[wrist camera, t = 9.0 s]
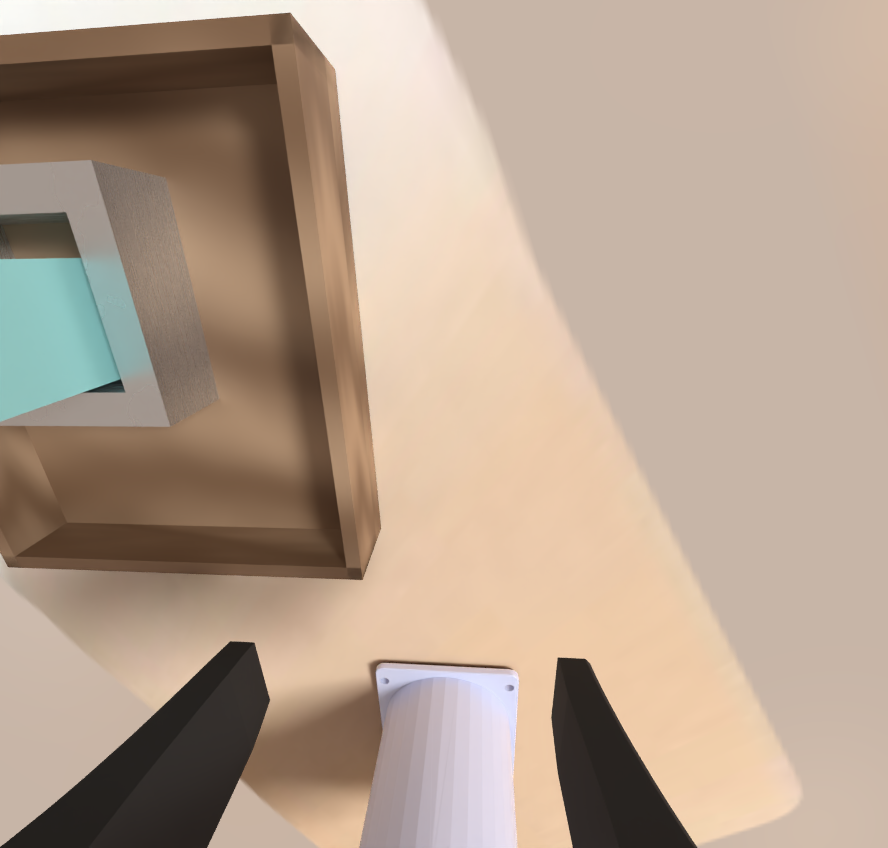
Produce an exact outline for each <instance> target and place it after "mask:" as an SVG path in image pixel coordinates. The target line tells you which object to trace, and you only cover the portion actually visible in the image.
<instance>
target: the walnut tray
mask: <svg viewBox="0 0 888 848" xmlns="http://www.w3.org/2000/svg"><path fill="white" fill-rule="evenodd" d="M83 160H93V161H97V162H101V163H106V164H110V165H114V166H118V167H122V168H127V169H131V170H135V171H139V172H144V173H148V174H152V175H156V176H160V177H165V178H166V180H167V184H168V188H169V192H170V196H171V201H172V205H173V209H174V213H175V217H176V221H177V225H178V229H179V234H180V238H181V242H182V246H183V250H184V254H185V258H186V263H187V267H188V271H189V275H190V279H191V283H192V287H193V292H194V296H195V300H196V304H197V308H198V312H199V316H200V321H201V325H202V329H203V333H204V337H205V341H206V345H207V349H208V354H209V358H210V362H211V366H212V370H213V374H214V378H215V383H216V387H217V391H218V395H219V399H218V400H217V401H215V402H213V403H211V404H210V405H208V406H206V407H204V408H203V409H201V410H199V411H197V412H195V413H194V414H192V415H190V416H188V417H187V418H185V419H183V420H181V421H180V422H178V423H176V424H174V425H172V426H171V427H128V426H0V553H1V554H2V556H3V558H4V560H5V562H6V564H7V566H8V567H18V568H46V569H74V570H102V571H130V572H158V573H186V574H214V575H242V576H270V577H298V578H326V579H354V580H363V577H364V574H365V572H366V569H367V566H368V563H369V560H370V557H371V555H372V552H373V549H374V546H375V543H376V541H377V538H378V535H379V532H380V529H381V524H380V514H379V504H378V494H377V484H376V474H375V464H374V454H373V444H372V434H371V424H370V414H369V404H368V394H367V384H366V374H365V364H364V354H363V344H362V334H361V324H360V314H359V304H358V294H357V284H356V274H355V264H354V254H353V244H352V234H351V225H350V215H349V205H348V195H347V185H346V175H345V165H344V155H343V145H342V135H341V125H340V115H339V105H338V95H337V85H336V75H335V69H334V68H333V66H332V65H331V64H330V63H329V61H328V60H327V59H326V57H325V56H324V55H323V54H322V52H321V51H320V50H319V49H318V47H317V46H316V45H315V43H314V42H313V41H312V40H311V38H310V37H309V36H308V35H307V33H306V32H305V31H304V30H303V28H302V27H301V26H300V24H299V23H298V22H297V21H296V19H295V18H294V17H293V16H292V14H291V13H281V14H269V15H256V16H243V17H230V18H217V19H205V20H192V21H179V22H166V23H153V24H140V25H128V26H115V27H102V28H89V29H76V30H64V31H51V32H38V33H25V34H12V35H0V165H3V164H23V163H43V162H63V161H83ZM3 228H4V230H5V233H6V236H7V238H8V241H9V243H10V246H11V249H12V251H13V254H14V256H15V259H47V258H81V256H80V253H79V250H78V246H77V243H76V240H75V237H74V234H73V231H72V228H71V225H70V222H65V223H38V224H11V225H3Z"/></svg>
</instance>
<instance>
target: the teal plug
mask: <svg viewBox="0 0 888 848" xmlns="http://www.w3.org/2000/svg"><path fill="white" fill-rule="evenodd" d="M119 379H121V377H120V374H119V371H118V368H117V365H116V362H115V359H114V356H113V353H112V350H111V347H110V344H109V341H108V338H107V335H106V332H105V329H104V325H103V322H102V319H101V316H100V313H99V310H98V307H97V304H96V301H95V298H94V295H93V292H92V289H91V286H90V283H89V280H88V277H87V274H86V271H85V268H84V265H83V262H82V259H81V258H47V259H0V422H1V421H4V420H6V419H9V418H12V417H15V416H18V415H20V414H23V413H26V412H29V411H32V410H35V409H37V408H40V407H43V406H46V405H49V404H52V403H54V402H57V401H60V400H63V399H66V398H69V397H71V396H74V395H77V394H80V393H83V392H86V391H88V390H91V389H94V388H97V387H100V386H102V385H105V384H108V383H111V382H114V381H117V380H119Z"/></svg>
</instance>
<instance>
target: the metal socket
mask: <svg viewBox="0 0 888 848" xmlns="http://www.w3.org/2000/svg"><path fill="white" fill-rule="evenodd" d="M65 222H70V225H71V228H72V231H73V234H74V237H75V240H76V243H77V246H78V250H79V253H80V256H81V259H82V262H83V265H84V268H85V271H86V274H87V277H88V280H89V283H90V286H91V289H92V292H93V295H94V298H95V301H96V304H97V307H98V310H99V313H100V316H101V319H102V322H103V325H104V329H105V332H106V335H107V338H108V341H109V344H110V347H111V350H112V353H113V356H114V359H115V362H116V365H117V368H118V371H119V374H120V377H121V379H119V380H117V381H114V382H111V383H108V384H105V385H102V386H100V387H97V388H94V389H91V390H88V391H86V392H83V393H80V394H77V395H74V396H71V397H69V398H66V399H63V400H60V401H57V402H54V403H52V404H49V405H46V406H43V407H40V408H37V409H35V410H32V411H29V412H26V413H23V414H20V415H18V416H15V417H12V418H9V419H6V420H4V421H1V422H0V426H128V427H171V426H172V425H174V424H176V423H178V422H180V421H181V420H183V419H185V418H187V417H188V416H190V415H192V414H194V413H195V412H197V411H199V410H201V409H203V408H204V407H206V406H208V405H210V404H211V403H213V402H215V401H217V400H218V399H219V395H218V391H217V387H216V383H215V378H214V374H213V370H212V366H211V362H210V358H209V354H208V349H207V345H206V341H205V337H204V333H203V329H202V325H201V321H200V316H199V312H198V308H197V304H196V300H195V296H194V292H193V287H192V283H191V279H190V275H189V271H188V267H187V263H186V258H185V254H184V250H183V246H182V242H181V238H180V234H179V229H178V225H177V221H176V217H175V213H174V209H173V205H172V201H171V196H170V192H169V188H168V184H167V180H166V178H165V177H160V176H156V175H152V174H148V173H144V172H139V171H135V170H131V169H127V168H122V167H118V166H114V165H110V164H106V163H101V162H97V161H93V160H83V161H63V162H43V163H23V164H3V165H0V259H15V256H14V254H13V251H12V249H11V246H10V243H9V241H8V238H7V236H6V233H5V230H4V228H3V225H11V224H38V223H65Z"/></svg>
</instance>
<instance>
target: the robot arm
mask: <svg viewBox="0 0 888 848" xmlns="http://www.w3.org/2000/svg"><path fill="white" fill-rule="evenodd" d="M375 674H376V682H377V690H378V698H379V706H380V714H381V722H382V730H383V732H382V737H381V742H380V747H379V752H378V757H377V762H376V767H375V772H374V777H373V782H372V787H371V792H370V797H369V802H368V807H367V812H366V816H365V821H364V826H363V831H362V836H361V841H360V846H359V848H518V847H517V832H516V816H515V801H514V785H513V771H514V754H515V737H516V720H517V703H518V686H519V678H518V674H517V672H516V671H514V670H511V669H495V668H476V667H457V666H437V665H418V664H399V663H381V664H379V665H378V666H377V668H376V673H375ZM269 702H270V699H269V695H268V691H267V687H266V684H265V680H264V676H263V673H262V669H261V665H260V662H259V658H258V654H257V651H256V647H255V643H252V642H231V641H230V642H229V643H228V644H227V645H226V646H225V647H224V648H223V649H222V650H221V651H220V652H219V653H218V654H217V655H216V656H214V657H213V658H212V659H211V660H210V661H209V662H208V663H207V664H206V665H205V666H204V667H203V668H202V669H201V670H200V671H199V672H198V673H197V674H196V675H195V676H194V677H193V678H192V679H191V680H190V681H189V682H188V683H187V684H186V685H184V686H183V687H182V688H181V689H180V690H179V691H178V692H177V693H176V694H175V695H174V696H173V697H172V698H171V699H170V700H169V701H168V702H167V703H166V704H165V705H164V706H163V707H161V708H160V709H159V710H158V711H157V712H156V713H155V714H154V715H153V716H152V717H151V718H150V719H149V720H148V721H147V722H146V723H145V724H143V725H142V726H141V727H140V728H139V729H138V730H137V731H136V732H135V733H134V734H133V735H132V736H131V737H129V738H128V739H127V740H126V741H125V742H124V743H123V744H122V745H121V746H120V747H119V748H117V749H116V750H115V751H114V752H113V753H112V754H111V755H109V756H108V757H107V758H106V759H105V760H104V761H103V762H102V763H100V764H99V765H98V766H97V767H96V768H95V769H94V770H93V771H91V772H90V773H89V774H88V775H87V776H86V777H85V778H84V779H82V780H81V781H80V782H79V783H78V784H77V785H75V786H74V787H73V788H72V789H71V790H70V791H68V792H67V793H66V794H65V795H64V796H63V797H61V798H60V799H59V800H58V801H57V802H55V803H54V804H53V805H52V806H51V807H49V808H48V809H47V810H46V811H45V812H43V813H42V814H41V815H40V816H38V817H37V818H36V819H35V820H33V821H32V822H31V823H30V824H29V825H27V826H26V827H25V828H24V829H22V830H21V831H20V832H19V833H17V834H16V835H15V836H14V837H12V838H11V839H10V840H9V841H7V842H6V843H5V844H4V845H2V846H1V847H0V848H207V847H208V845H209V842H210V840H211V838H212V836H213V834H214V832H215V830H216V828H217V825H218V823H219V821H220V819H221V817H222V814H223V813H224V810H225V808H226V806H227V804H228V802H229V800H230V798H231V796H232V794H233V791H234V789H235V787H236V785H237V783H238V781H239V778H240V776H241V774H242V772H243V770H244V768H245V765H246V763H247V761H248V759H249V757H250V754H251V752H252V750H253V747H254V744H255V742H256V739H257V736H258V734H259V731H260V728H261V725H262V722H263V719H264V716H265V713H266V710H267V707H268V704H269ZM551 718H552V727H553V736H554V744H555V753H556V761H557V769H558V775H559V781H560V786H561V791H562V796H563V801H564V806H565V811H566V815H567V820H568V825H569V830H570V835H571V840H572V845H573V848H697V846H696V845H695V844H694V842H693V841H692V839H691V838H690V836H689V835H688V833H687V831H686V830H685V828H684V827H683V825H682V824H681V822H680V821H679V819H678V818H677V816H676V815H675V813H674V811H673V810H672V808H671V807H670V805H669V804H668V802H667V801H666V799H665V797H664V796H663V794H662V793H661V791H660V789H659V788H658V786H657V785H656V783H655V781H654V780H653V778H652V776H651V775H650V773H649V771H648V770H647V768H646V766H645V765H644V763H643V761H642V760H641V758H640V756H639V755H638V753H637V751H636V750H635V748H634V746H633V745H632V743H631V741H630V739H629V738H628V736H627V734H626V732H625V731H624V729H623V727H622V725H621V723H620V722H619V720H618V718H617V716H616V714H615V712H614V711H613V709H612V707H611V705H610V703H609V701H608V699H607V697H606V696H605V694H604V692H603V690H602V688H601V686H600V684H599V682H598V680H597V678H596V676H595V673H594V671H593V669H592V667H591V665H590V663H589V662H588V661H587V660H586V659H576V658H558V661H557V670H556V679H555V689H554V698H553V708H552V717H551Z"/></svg>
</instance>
